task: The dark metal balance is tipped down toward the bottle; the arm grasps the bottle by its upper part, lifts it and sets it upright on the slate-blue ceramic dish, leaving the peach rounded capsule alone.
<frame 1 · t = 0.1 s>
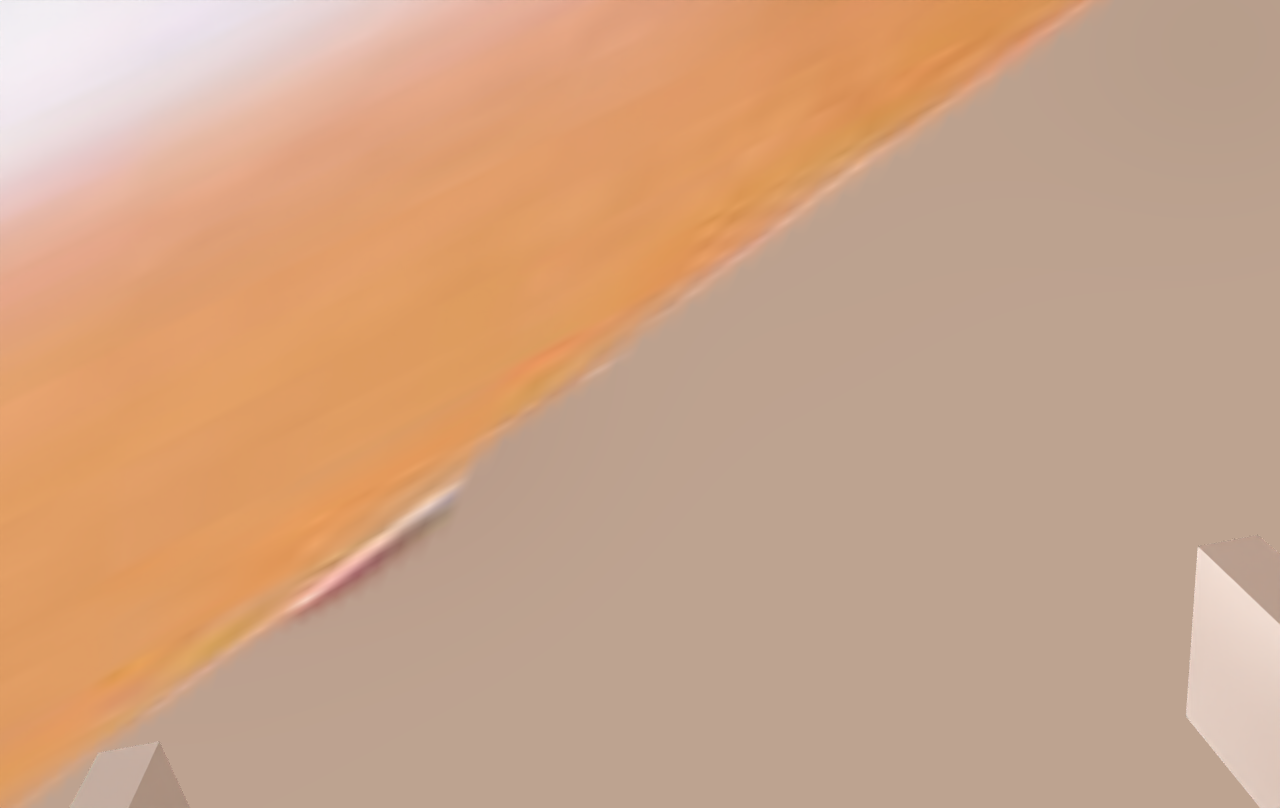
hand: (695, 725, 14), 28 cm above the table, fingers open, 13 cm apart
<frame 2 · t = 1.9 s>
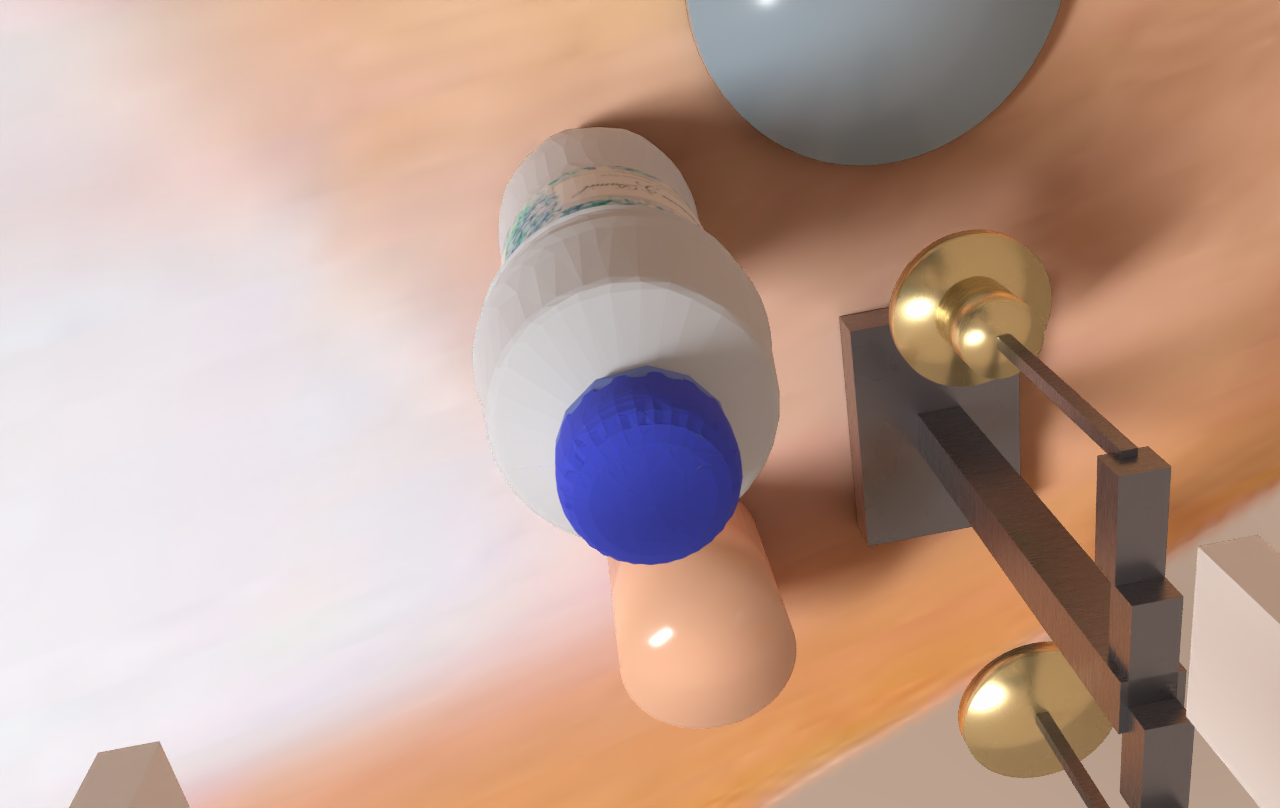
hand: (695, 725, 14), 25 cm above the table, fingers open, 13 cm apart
bottle: (594, 208, 36), on the table
balance: (926, 411, 41), on the table
peach rounded capsule: (682, 547, 42), on the table
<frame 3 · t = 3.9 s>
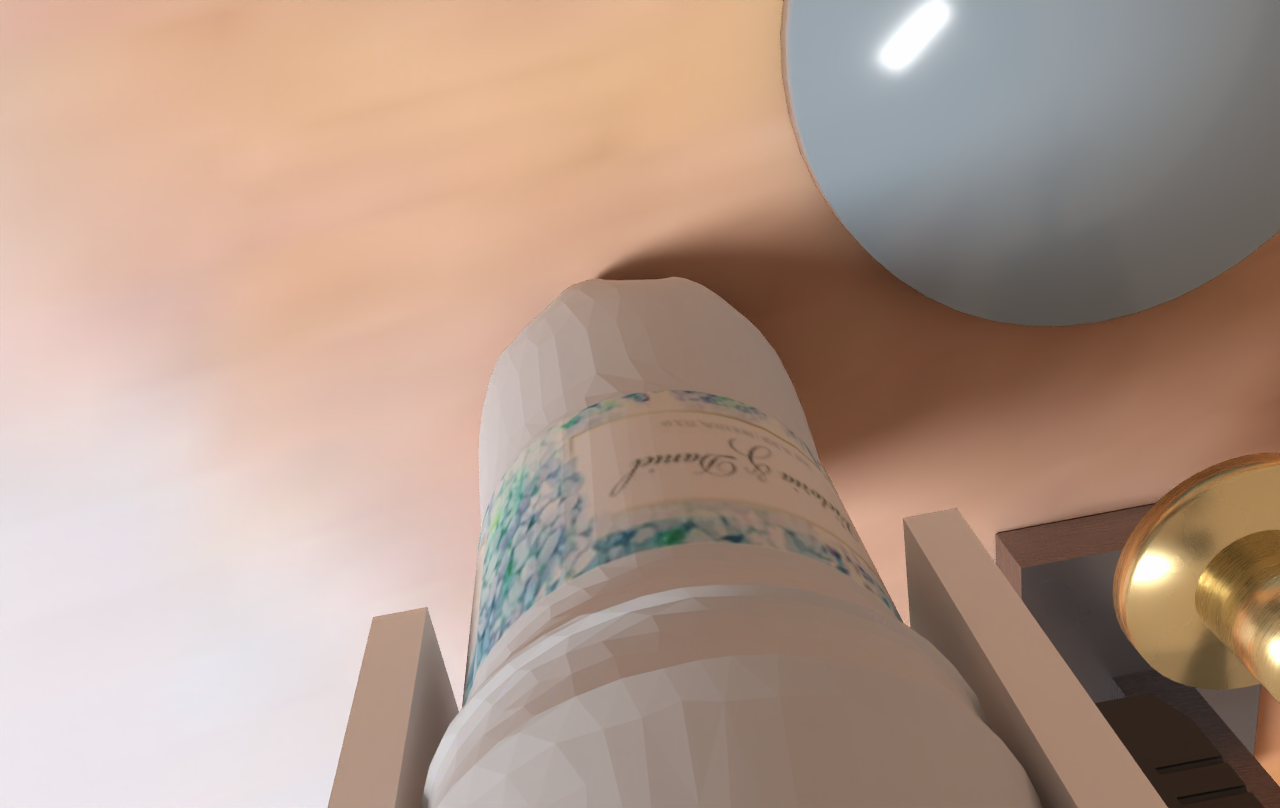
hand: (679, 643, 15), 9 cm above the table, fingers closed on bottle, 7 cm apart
bottle: (630, 385, 24), on the table, touching gripper
balance: (1113, 658, 28), on the table
dish: (1083, 20, 21), on the table
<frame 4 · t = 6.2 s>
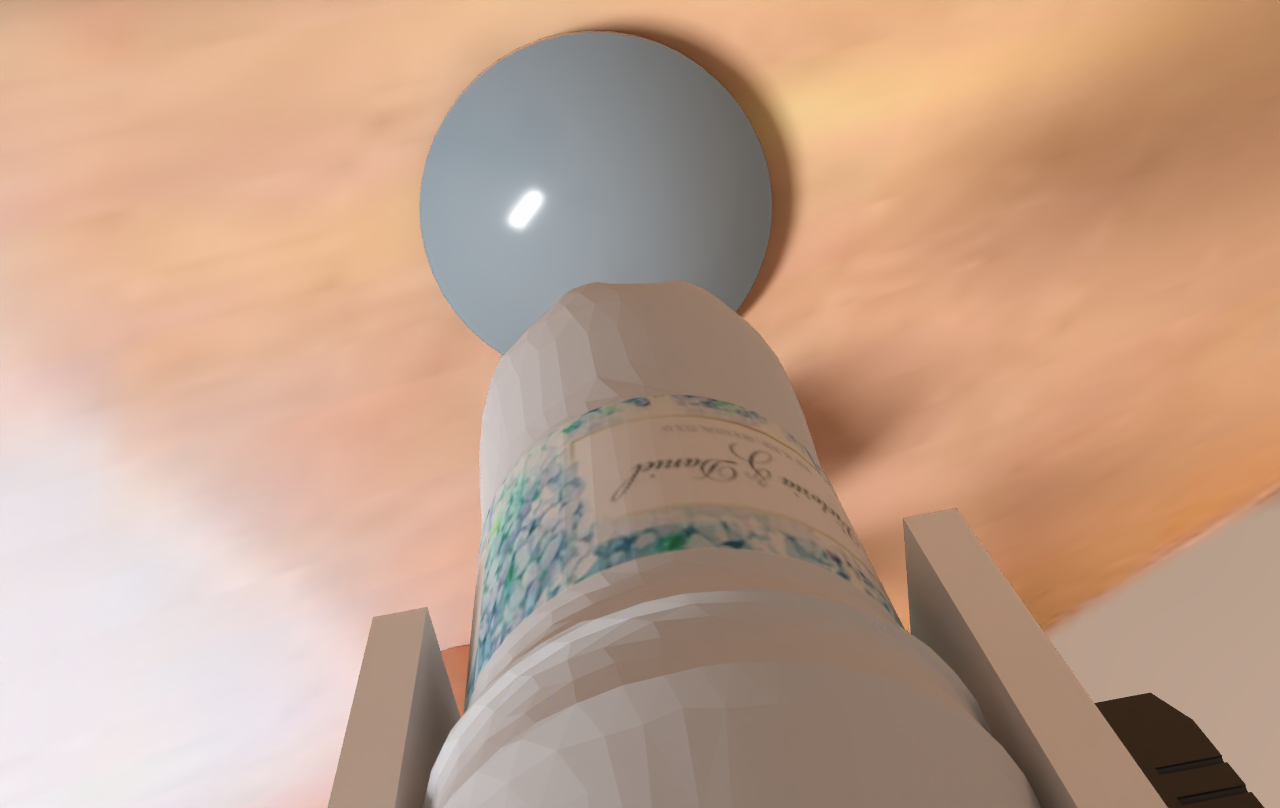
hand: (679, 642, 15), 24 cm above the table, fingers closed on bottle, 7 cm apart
bottle: (631, 388, 24), point 15 cm above the table, touching gripper
dish: (597, 211, 37), on the table
peach rounded capsule: (474, 702, 46), on the table
when the fingers open (11 cm above the table, at t = 8.9 s): bottle drops 1 cm, resting on dish.
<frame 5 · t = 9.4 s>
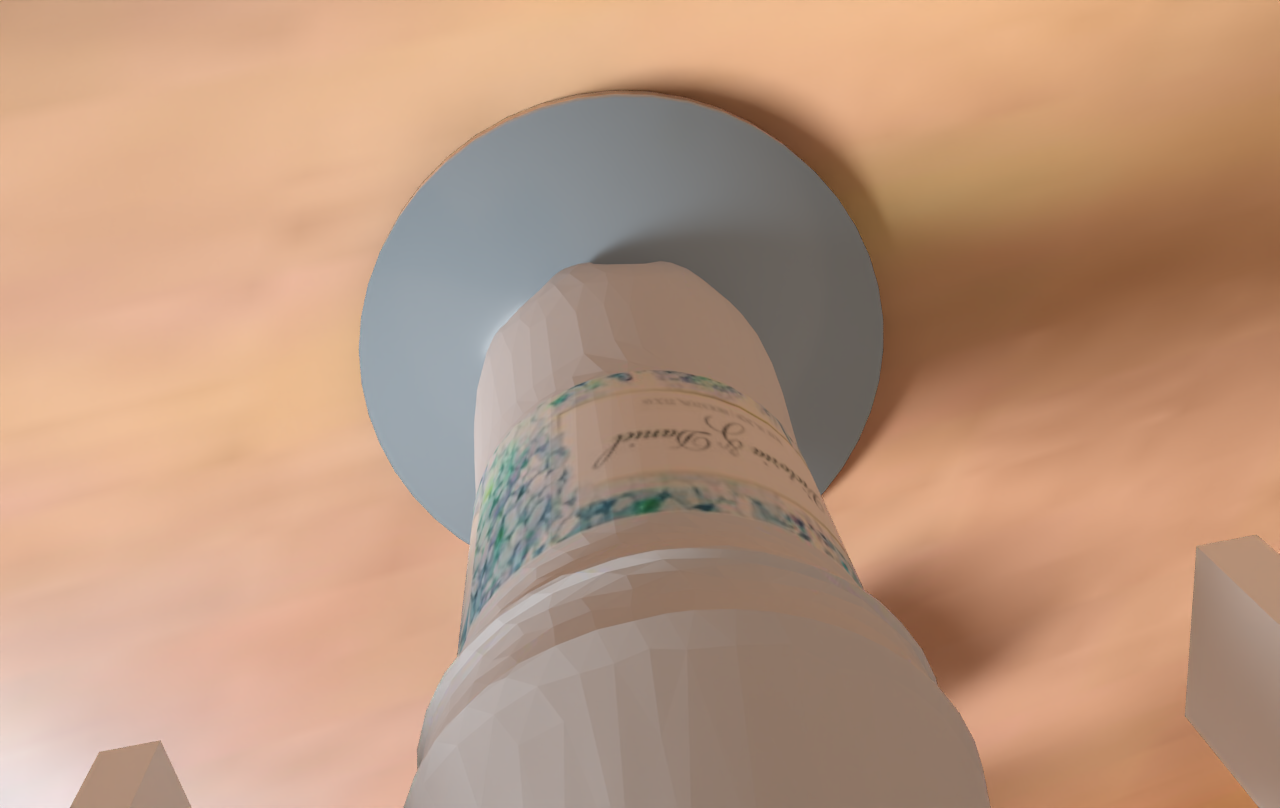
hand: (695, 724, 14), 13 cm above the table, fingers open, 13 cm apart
bottle: (619, 364, 25), point 1 cm above the table, touching dish
dish: (623, 350, 25), on the table
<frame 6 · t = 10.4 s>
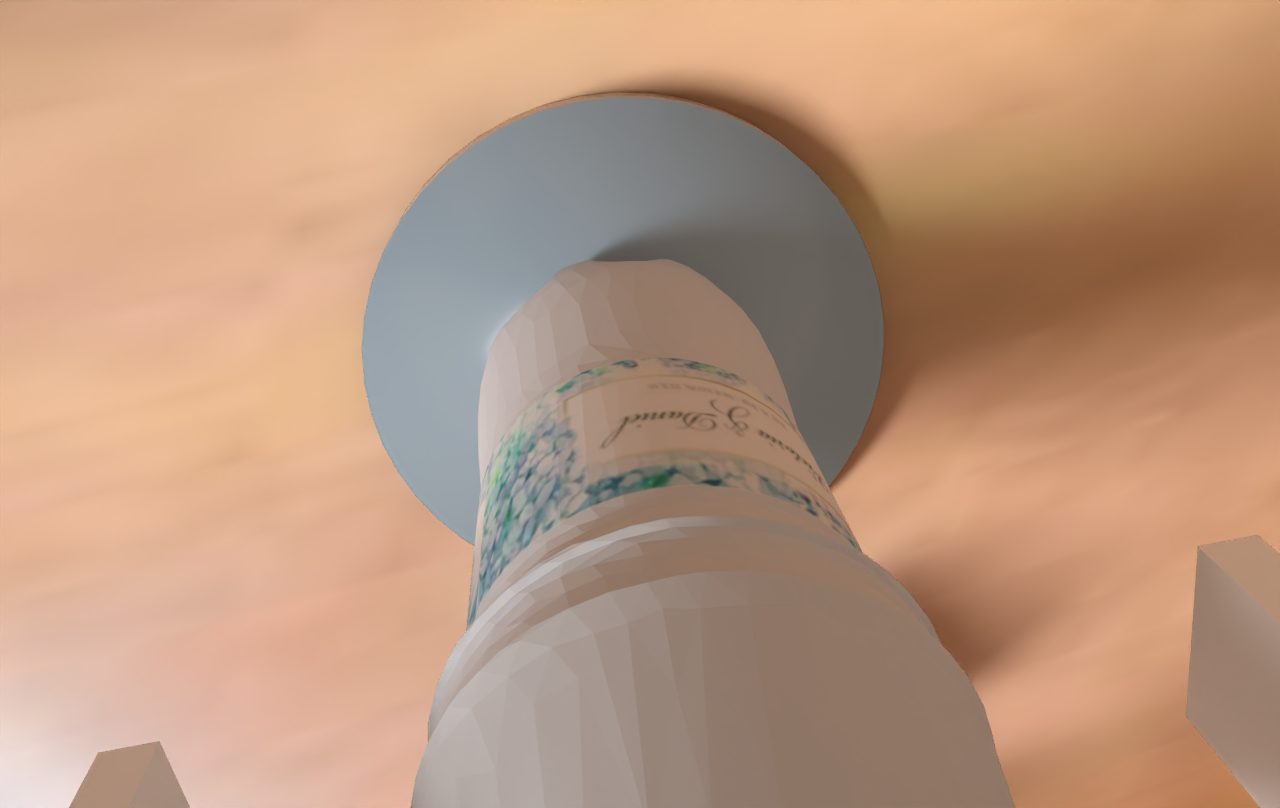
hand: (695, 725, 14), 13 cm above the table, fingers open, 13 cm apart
bottle: (621, 363, 25), point 1 cm above the table, touching dish
dish: (625, 351, 26), on the table
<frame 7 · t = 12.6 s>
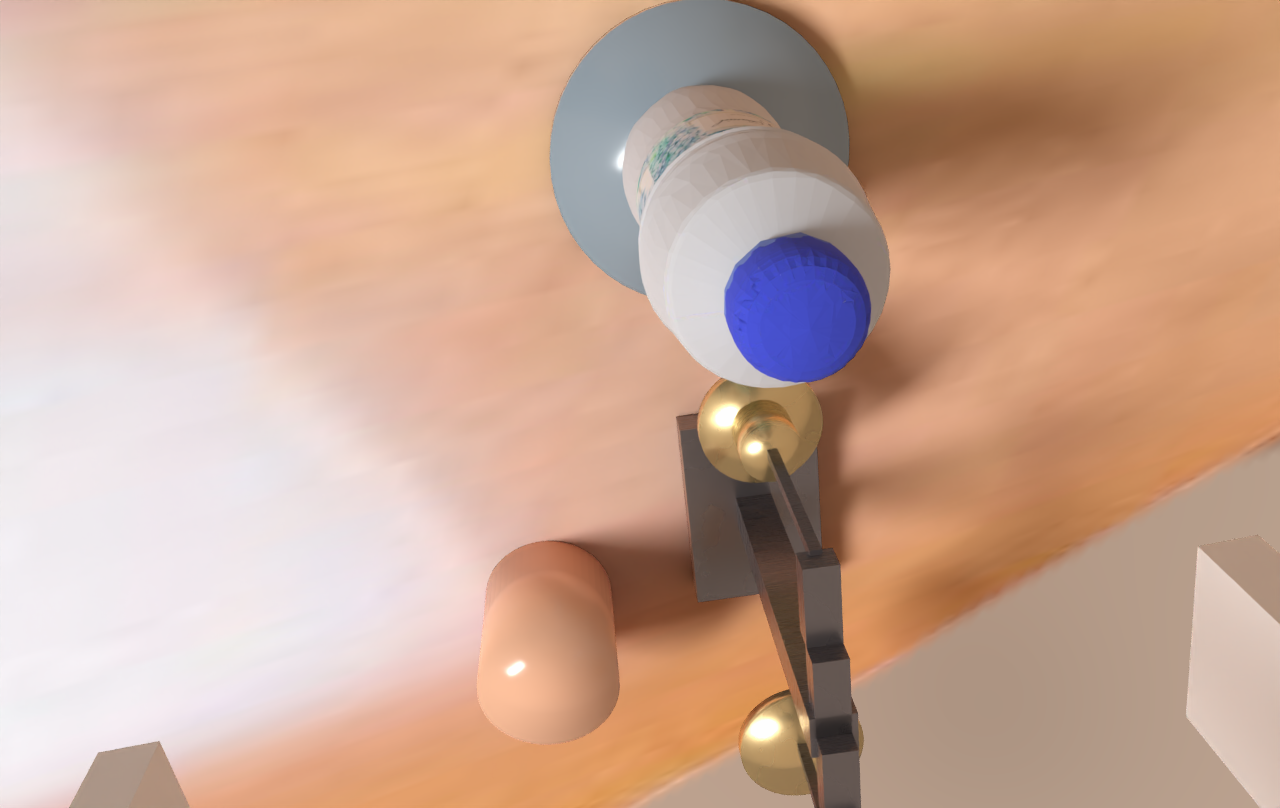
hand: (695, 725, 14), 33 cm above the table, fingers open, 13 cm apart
bottle: (696, 158, 43), point 1 cm above the table, touching dish
balance: (748, 495, 50), on the table
dish: (697, 155, 43), on the table
peach rounded capsule: (548, 594, 51), on the table
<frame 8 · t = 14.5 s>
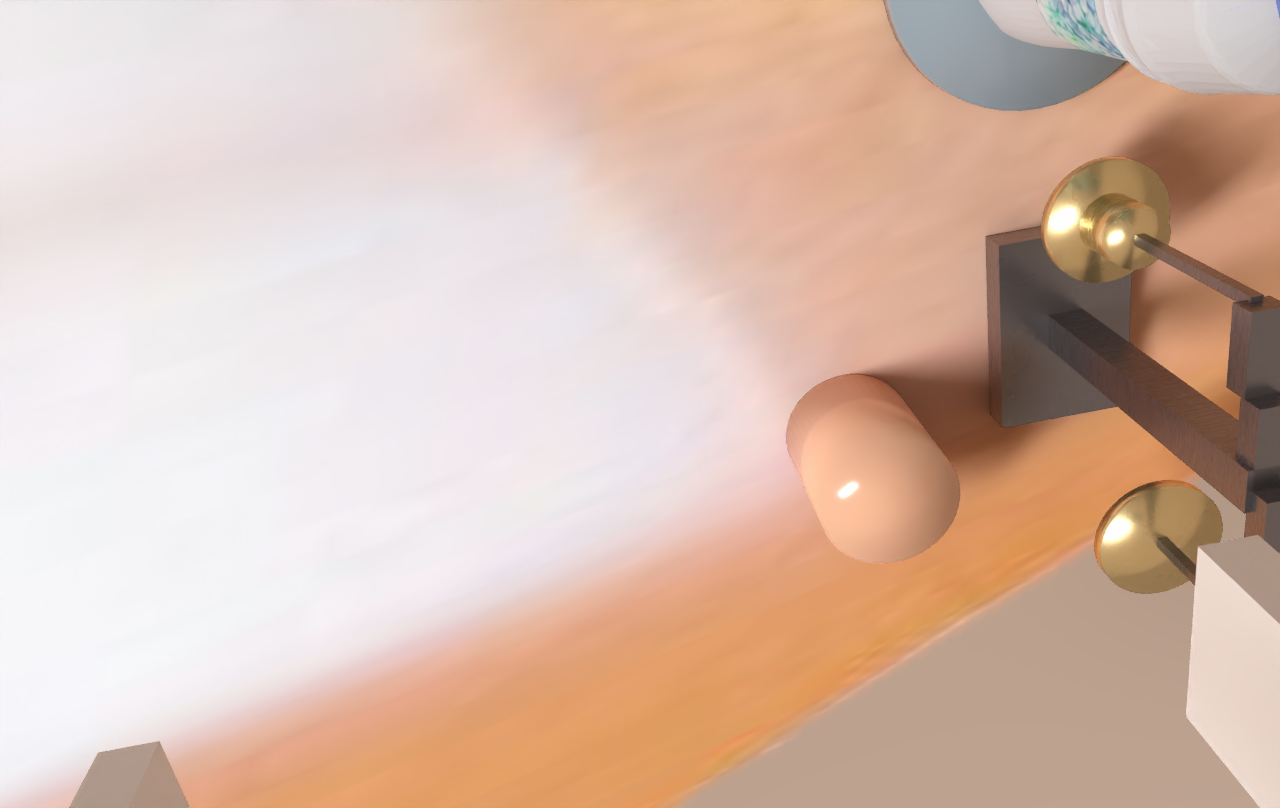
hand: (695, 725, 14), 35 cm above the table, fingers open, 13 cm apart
balance: (1051, 317, 50), on the table
peach rounded capsule: (847, 431, 52), on the table
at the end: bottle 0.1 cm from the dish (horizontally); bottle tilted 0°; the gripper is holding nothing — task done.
